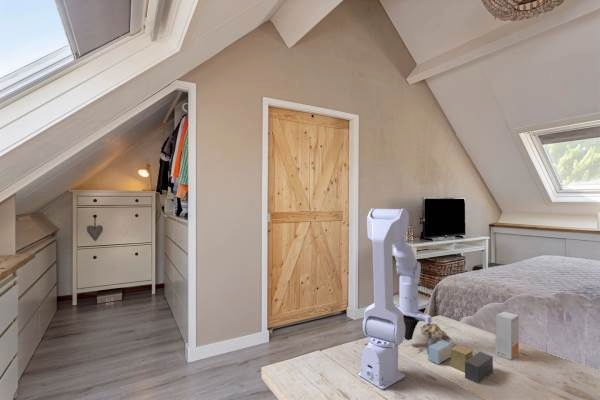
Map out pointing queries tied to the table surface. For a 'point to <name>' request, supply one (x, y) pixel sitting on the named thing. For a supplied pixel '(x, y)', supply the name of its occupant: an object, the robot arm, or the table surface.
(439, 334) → the mineral rock
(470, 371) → the grey block
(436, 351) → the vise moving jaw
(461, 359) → the brass block
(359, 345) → the table surface
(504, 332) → the skincare box
